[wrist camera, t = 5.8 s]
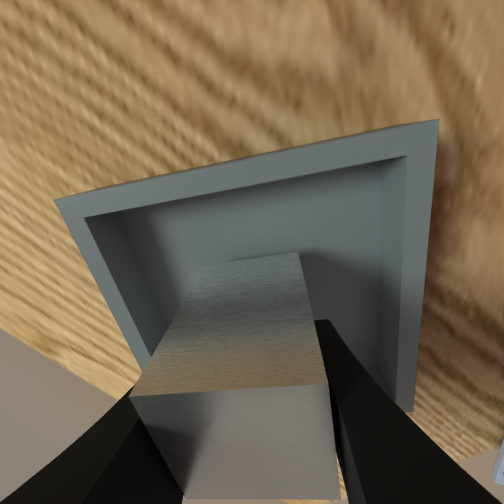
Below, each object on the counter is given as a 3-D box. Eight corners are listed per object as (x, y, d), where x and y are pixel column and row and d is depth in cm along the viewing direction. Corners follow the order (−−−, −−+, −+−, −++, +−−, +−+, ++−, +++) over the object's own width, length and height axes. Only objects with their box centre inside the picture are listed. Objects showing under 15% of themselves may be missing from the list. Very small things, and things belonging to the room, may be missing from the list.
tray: (390, 367, 14) (412, 411, 12) (183, 382, 16) (168, 423, 14) (397, 125, 9) (439, 118, 7) (98, 188, 11) (53, 199, 9)
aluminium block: (308, 329, 11) (341, 499, 6) (226, 337, 12) (186, 498, 7) (297, 251, 10) (328, 383, 4) (204, 265, 10) (128, 396, 5)
